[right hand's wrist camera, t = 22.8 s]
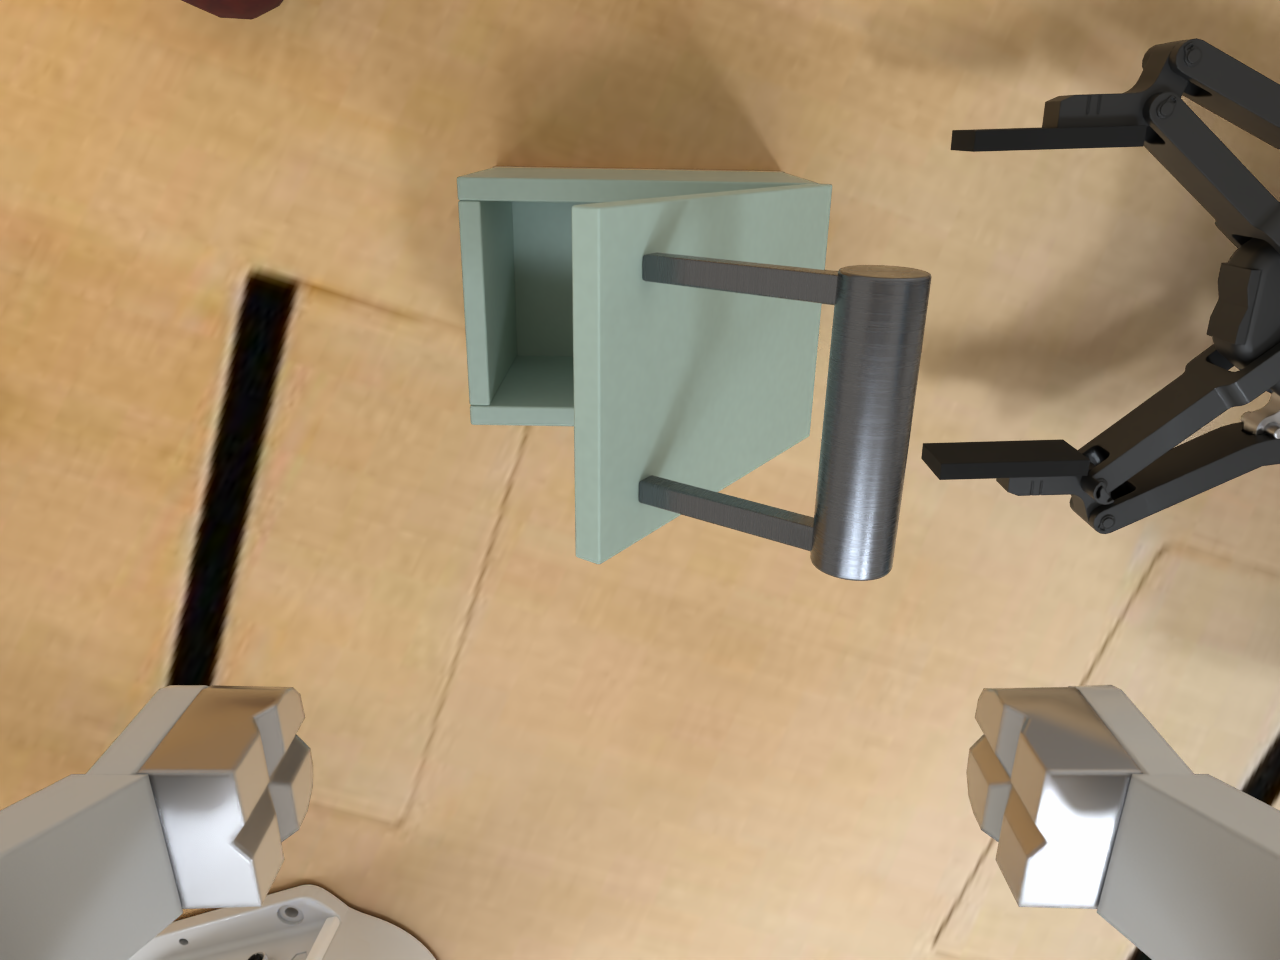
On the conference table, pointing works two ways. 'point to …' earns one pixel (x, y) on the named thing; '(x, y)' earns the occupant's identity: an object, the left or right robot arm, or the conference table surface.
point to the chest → (543, 275)
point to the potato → (236, 7)
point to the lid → (737, 372)
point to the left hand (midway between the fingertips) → (944, 311)
